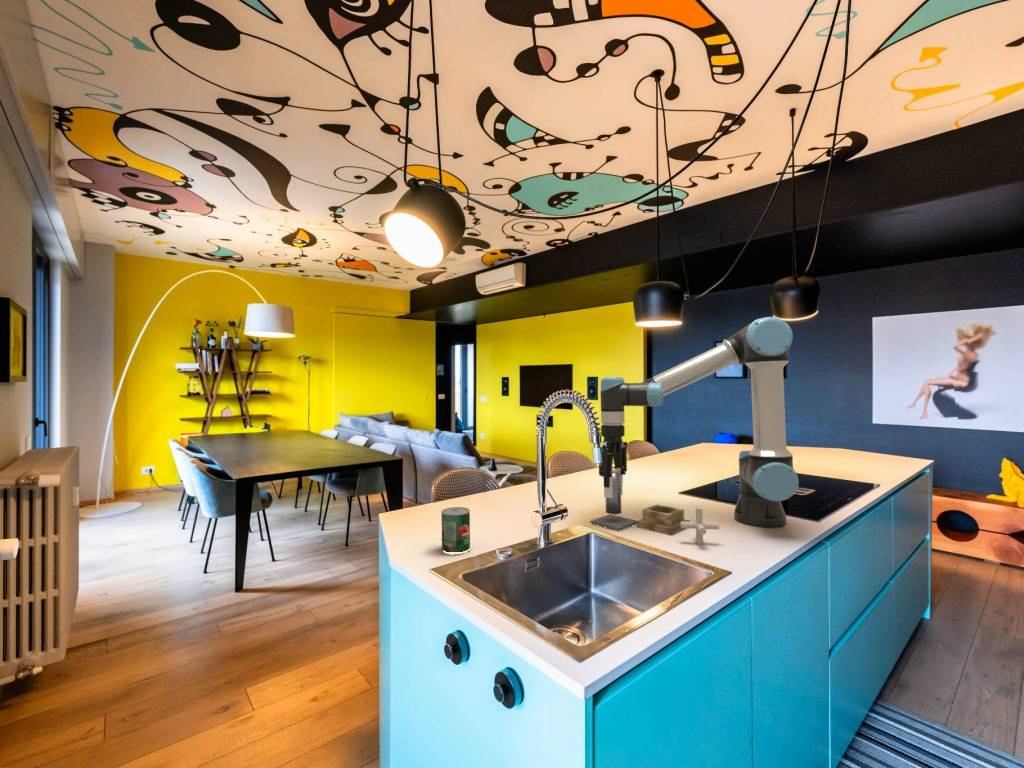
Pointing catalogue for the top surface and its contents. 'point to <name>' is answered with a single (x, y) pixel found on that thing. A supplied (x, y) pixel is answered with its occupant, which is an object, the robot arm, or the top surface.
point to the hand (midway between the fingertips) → (613, 495)
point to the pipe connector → (699, 525)
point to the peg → (615, 492)
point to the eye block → (662, 519)
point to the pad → (614, 522)
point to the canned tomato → (455, 529)
